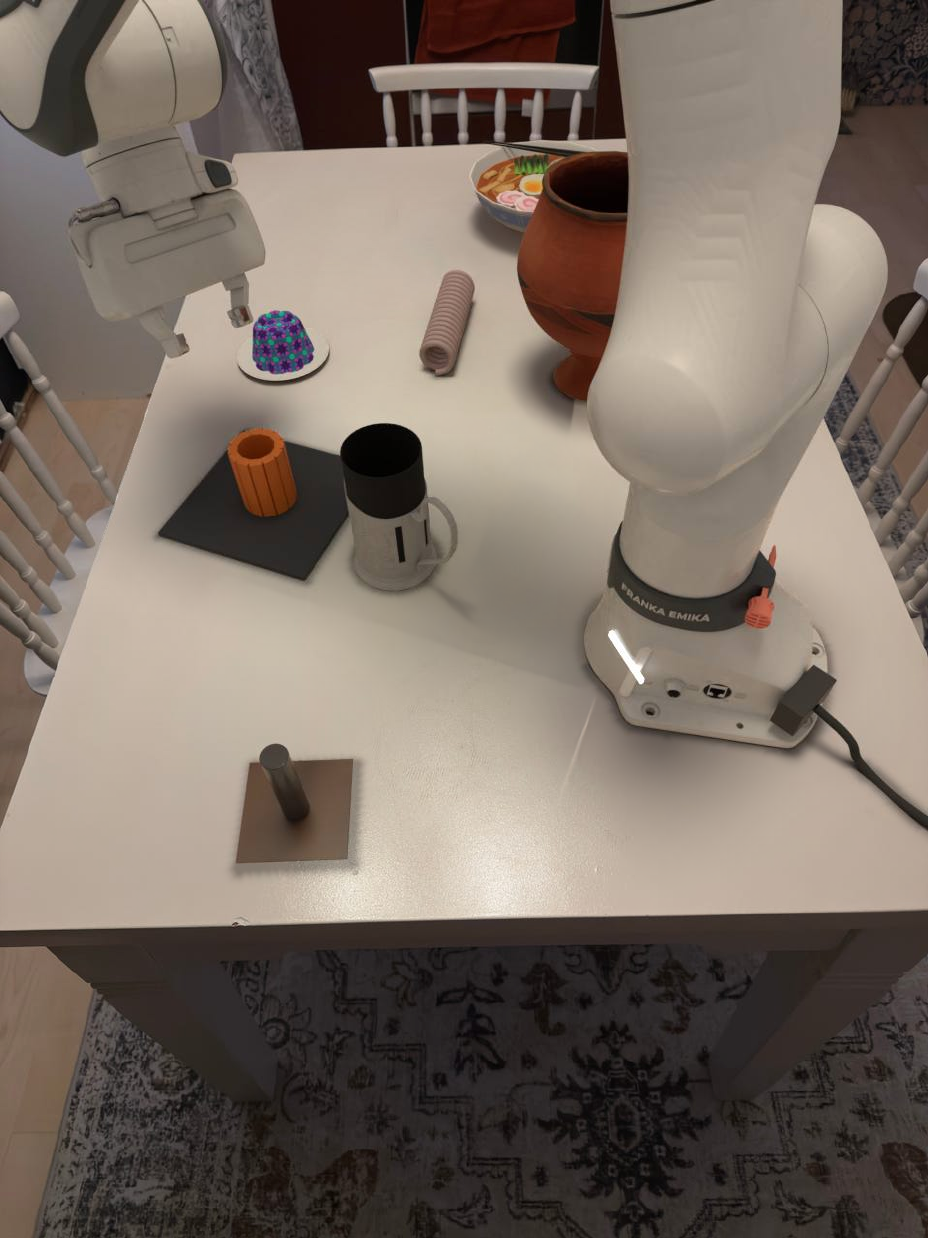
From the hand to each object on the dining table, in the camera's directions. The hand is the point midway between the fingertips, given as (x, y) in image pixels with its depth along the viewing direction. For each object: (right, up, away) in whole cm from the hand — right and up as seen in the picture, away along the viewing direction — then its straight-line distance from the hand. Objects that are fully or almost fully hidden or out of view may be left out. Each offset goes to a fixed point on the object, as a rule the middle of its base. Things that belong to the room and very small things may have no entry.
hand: (213, 339), depth 83 cm
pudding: (+1, +7, +27) cm, 28 cm away
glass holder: (+19, -23, +4) cm, 30 cm away
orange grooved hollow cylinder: (+3, -14, +10) cm, 18 cm away
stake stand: (+11, -44, -12) cm, 47 cm away
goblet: (+41, +2, +23) cm, 47 cm away
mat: (+3, -14, +11) cm, 18 cm away
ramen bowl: (+37, +33, +47) cm, 68 cm away
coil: (+23, +10, +29) cm, 39 cm away
